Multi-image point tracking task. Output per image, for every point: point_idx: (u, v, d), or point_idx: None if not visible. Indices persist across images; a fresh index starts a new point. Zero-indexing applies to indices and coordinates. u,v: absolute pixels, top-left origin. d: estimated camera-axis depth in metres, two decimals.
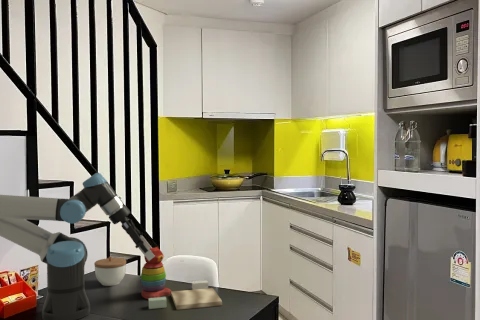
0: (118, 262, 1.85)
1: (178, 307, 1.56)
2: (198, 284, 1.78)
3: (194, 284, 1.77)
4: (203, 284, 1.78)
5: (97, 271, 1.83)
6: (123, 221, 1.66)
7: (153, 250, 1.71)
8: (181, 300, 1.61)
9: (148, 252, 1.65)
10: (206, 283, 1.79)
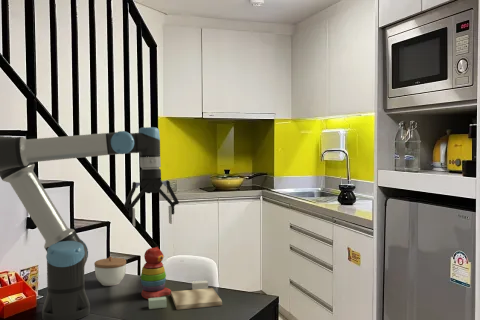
0: (118, 262, 1.85)
1: (178, 307, 1.56)
2: (198, 284, 1.78)
3: (194, 284, 1.77)
4: (203, 284, 1.78)
5: (97, 271, 1.83)
6: None
7: (153, 250, 1.71)
8: (181, 300, 1.61)
9: None
10: (206, 283, 1.79)
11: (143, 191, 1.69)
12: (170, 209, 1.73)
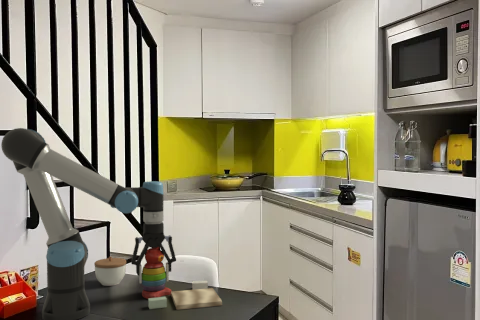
0: (118, 262, 1.85)
1: (178, 307, 1.56)
2: (197, 284, 1.78)
3: (193, 284, 1.78)
4: (202, 284, 1.78)
5: (97, 271, 1.83)
6: None
7: (153, 250, 1.71)
8: (181, 300, 1.61)
9: (139, 275, 1.71)
10: (206, 283, 1.78)
11: (146, 246, 1.70)
12: (167, 267, 1.73)
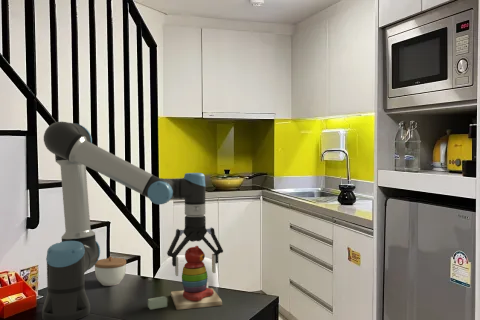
0: (118, 262, 1.85)
1: (178, 307, 1.56)
2: None
3: None
4: None
5: (97, 271, 1.83)
6: None
7: (194, 249, 1.64)
8: (181, 300, 1.61)
9: (175, 268, 1.63)
10: None
11: (187, 239, 1.63)
12: (214, 258, 1.66)
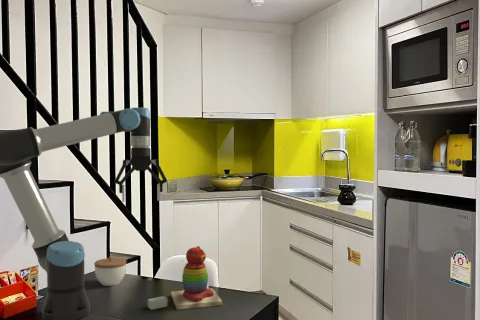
0: (118, 262, 1.85)
1: (178, 307, 1.56)
2: None
3: None
4: None
5: (97, 271, 1.83)
6: (131, 158, 1.78)
7: (196, 250, 1.64)
8: (181, 300, 1.61)
9: (122, 195, 1.77)
10: None
11: (133, 168, 1.77)
12: (158, 187, 1.80)
